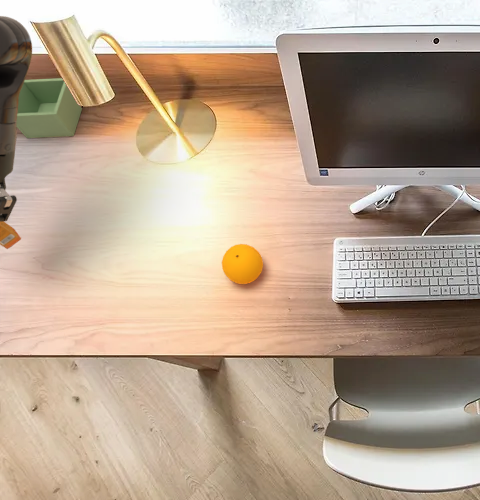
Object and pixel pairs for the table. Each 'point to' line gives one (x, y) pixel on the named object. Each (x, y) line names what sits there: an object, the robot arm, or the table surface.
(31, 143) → the table surface
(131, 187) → the table surface
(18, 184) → the table surface
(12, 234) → the supplement box
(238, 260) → the orange fruit
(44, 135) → the bin
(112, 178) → the table surface
